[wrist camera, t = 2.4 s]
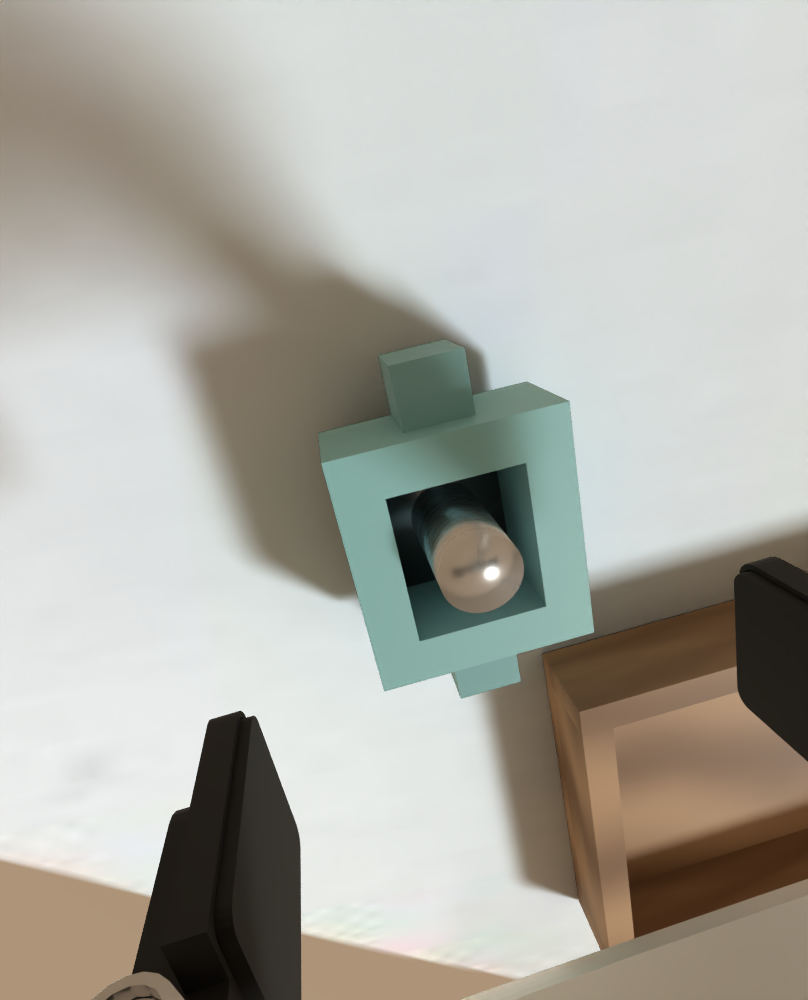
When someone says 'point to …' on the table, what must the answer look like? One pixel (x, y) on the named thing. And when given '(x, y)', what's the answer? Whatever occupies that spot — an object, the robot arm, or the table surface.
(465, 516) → the grey metallic peg stand
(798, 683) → the robot arm
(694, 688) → the tray
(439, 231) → the table surface
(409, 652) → the teal tabbed square frame
